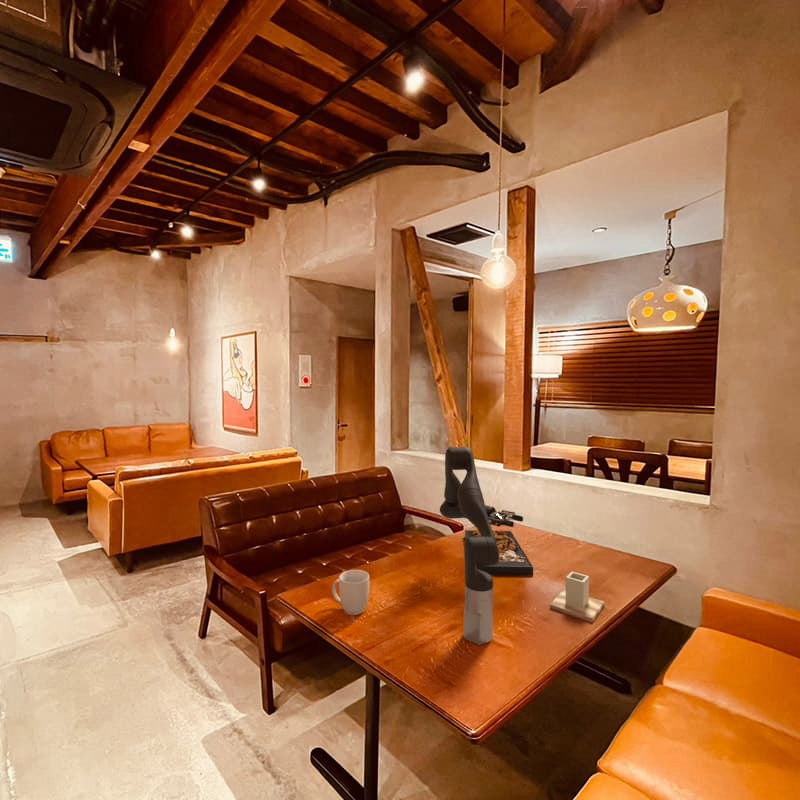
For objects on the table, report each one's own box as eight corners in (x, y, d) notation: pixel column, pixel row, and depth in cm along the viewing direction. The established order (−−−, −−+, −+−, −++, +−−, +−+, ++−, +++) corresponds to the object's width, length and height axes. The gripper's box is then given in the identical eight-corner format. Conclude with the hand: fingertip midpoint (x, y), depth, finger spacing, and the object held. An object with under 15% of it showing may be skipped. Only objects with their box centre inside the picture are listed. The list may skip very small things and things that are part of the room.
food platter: (533, 576, 189) (533, 553, 188) (476, 575, 190) (476, 552, 189) (510, 538, 234) (511, 519, 233) (464, 538, 235) (465, 519, 234)
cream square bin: (583, 609, 158) (583, 582, 157) (565, 603, 162) (565, 577, 162) (588, 602, 163) (589, 576, 162) (571, 596, 167) (571, 571, 166)
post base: (592, 622, 152) (592, 598, 152) (549, 608, 162) (550, 585, 161) (604, 605, 163) (604, 583, 163) (564, 592, 173) (564, 572, 173)
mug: (324, 612, 159) (324, 577, 158) (340, 598, 169) (340, 565, 168) (360, 621, 153) (360, 585, 152) (374, 606, 163) (374, 572, 162)
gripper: (473, 508, 179) (510, 516, 169) (490, 501, 190) (525, 508, 180) (473, 526, 180) (510, 535, 169) (490, 518, 191) (525, 526, 180)
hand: (518, 521), depth 175 cm, fingers open, 8 cm apart
